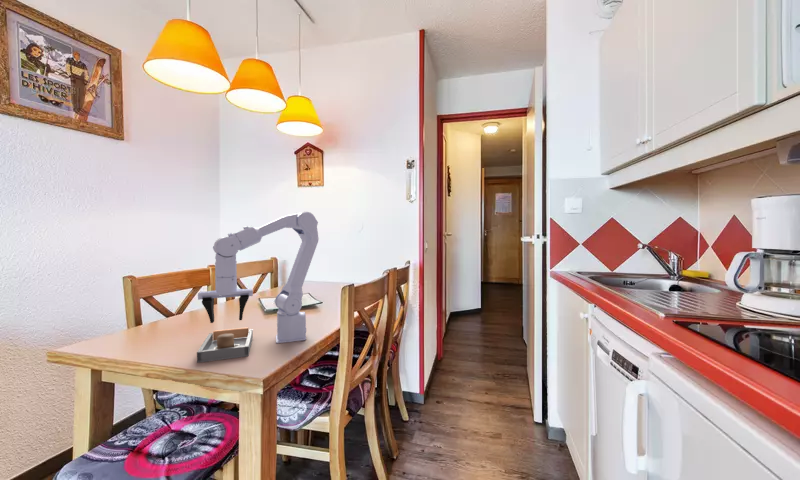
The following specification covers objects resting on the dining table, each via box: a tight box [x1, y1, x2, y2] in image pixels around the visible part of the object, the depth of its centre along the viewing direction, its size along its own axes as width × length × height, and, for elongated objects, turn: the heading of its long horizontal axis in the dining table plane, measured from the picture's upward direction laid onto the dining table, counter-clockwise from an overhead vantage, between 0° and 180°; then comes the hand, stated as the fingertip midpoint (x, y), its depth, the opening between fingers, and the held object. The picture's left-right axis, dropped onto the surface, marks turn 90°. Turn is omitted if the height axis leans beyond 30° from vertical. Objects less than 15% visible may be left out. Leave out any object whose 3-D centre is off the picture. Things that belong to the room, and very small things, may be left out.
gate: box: [212, 326, 249, 341], centre depth 105 cm, size 10×1×3 cm, turn 112°
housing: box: [196, 328, 254, 364], centre depth 97 cm, size 13×17×3 cm
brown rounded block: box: [217, 334, 234, 349], centre depth 93 cm, size 4×4×5 cm
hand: (226, 320), depth 95 cm, fingers open, 7 cm apart
